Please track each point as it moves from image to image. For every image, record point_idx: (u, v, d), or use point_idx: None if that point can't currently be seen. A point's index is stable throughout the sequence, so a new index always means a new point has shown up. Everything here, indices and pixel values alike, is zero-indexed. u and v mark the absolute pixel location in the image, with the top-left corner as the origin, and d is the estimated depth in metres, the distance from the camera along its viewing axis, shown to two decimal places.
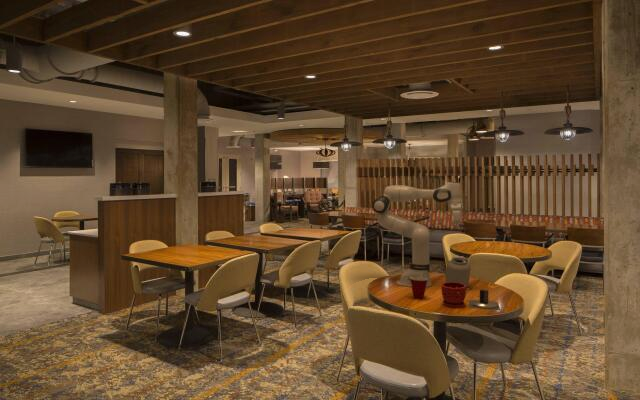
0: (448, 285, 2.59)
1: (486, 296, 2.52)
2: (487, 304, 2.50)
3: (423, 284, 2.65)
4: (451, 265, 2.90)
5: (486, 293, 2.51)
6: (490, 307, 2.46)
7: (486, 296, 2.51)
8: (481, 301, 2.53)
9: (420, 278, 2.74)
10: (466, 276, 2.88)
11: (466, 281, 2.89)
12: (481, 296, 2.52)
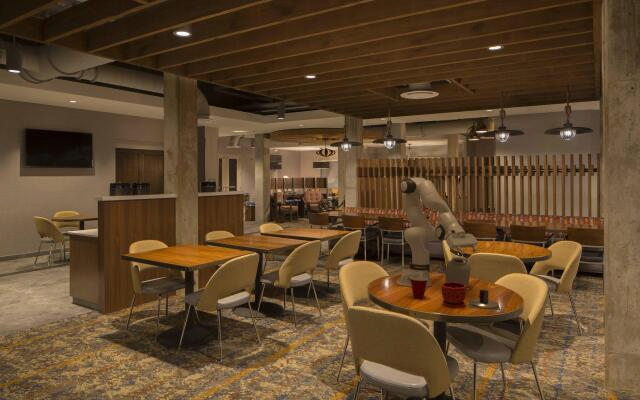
0: (448, 285, 2.59)
1: (486, 296, 2.52)
2: (487, 304, 2.50)
3: (423, 284, 2.65)
4: (451, 265, 2.90)
5: (486, 293, 2.51)
6: (490, 307, 2.46)
7: (486, 296, 2.51)
8: (481, 301, 2.53)
9: (420, 278, 2.74)
10: (466, 276, 2.88)
11: (466, 281, 2.89)
12: (481, 296, 2.52)
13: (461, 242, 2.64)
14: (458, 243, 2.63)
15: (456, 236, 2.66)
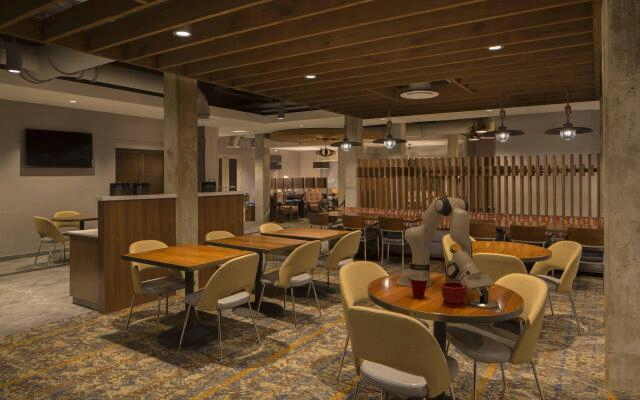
0: (448, 285, 2.59)
1: (486, 296, 2.52)
2: (487, 304, 2.50)
3: (423, 284, 2.65)
4: None
5: (486, 293, 2.51)
6: (490, 307, 2.46)
7: (486, 296, 2.51)
8: (481, 301, 2.53)
9: (420, 278, 2.74)
10: None
11: None
12: (481, 296, 2.52)
13: (476, 284, 2.54)
14: (473, 285, 2.52)
15: (471, 277, 2.55)
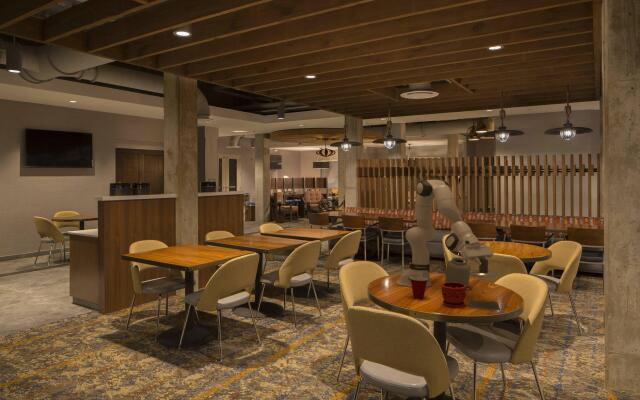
0: (448, 285, 2.59)
1: (486, 265, 2.50)
2: (486, 273, 2.49)
3: (423, 284, 2.65)
4: (451, 265, 2.90)
5: (486, 262, 2.50)
6: (490, 275, 2.45)
7: (485, 265, 2.50)
8: (480, 271, 2.52)
9: (420, 278, 2.74)
10: (466, 276, 2.88)
11: (466, 281, 2.89)
12: (481, 265, 2.51)
13: (476, 253, 2.52)
14: (473, 254, 2.51)
15: (470, 247, 2.54)
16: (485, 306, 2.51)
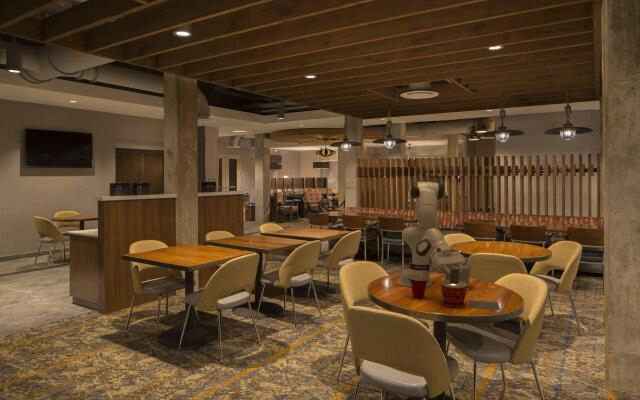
0: None
1: (456, 276, 2.50)
2: (457, 283, 2.49)
3: (423, 284, 2.65)
4: None
5: (456, 273, 2.50)
6: (459, 286, 2.45)
7: (456, 275, 2.50)
8: (451, 281, 2.52)
9: (420, 278, 2.74)
10: (466, 276, 2.88)
11: (466, 281, 2.89)
12: (451, 276, 2.51)
13: (447, 261, 2.52)
14: (443, 262, 2.51)
15: (442, 254, 2.54)
16: (485, 306, 2.51)
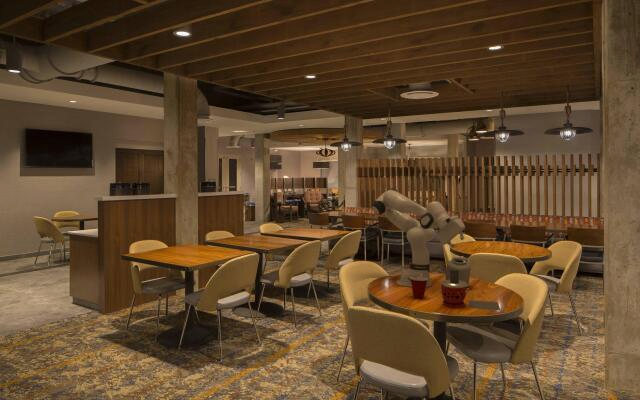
0: None
1: (456, 276, 2.50)
2: (457, 283, 2.49)
3: (423, 284, 2.65)
4: (451, 265, 2.90)
5: (456, 273, 2.50)
6: (459, 286, 2.45)
7: (456, 275, 2.50)
8: (451, 281, 2.52)
9: (420, 278, 2.74)
10: (466, 276, 2.88)
11: (466, 281, 2.89)
12: (451, 276, 2.51)
13: None
14: None
15: None
16: (485, 306, 2.51)
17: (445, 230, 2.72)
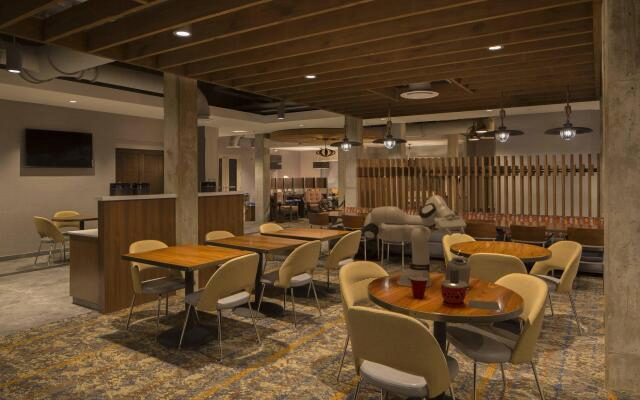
0: None
1: (456, 276, 2.51)
2: (457, 283, 2.49)
3: (423, 284, 2.65)
4: (451, 265, 2.90)
5: (456, 273, 2.50)
6: (459, 286, 2.45)
7: (456, 275, 2.50)
8: (451, 281, 2.52)
9: (420, 278, 2.74)
10: (466, 276, 2.88)
11: (466, 281, 2.89)
12: (451, 276, 2.52)
13: None
14: None
15: None
16: (485, 306, 2.51)
17: (448, 219, 2.76)
